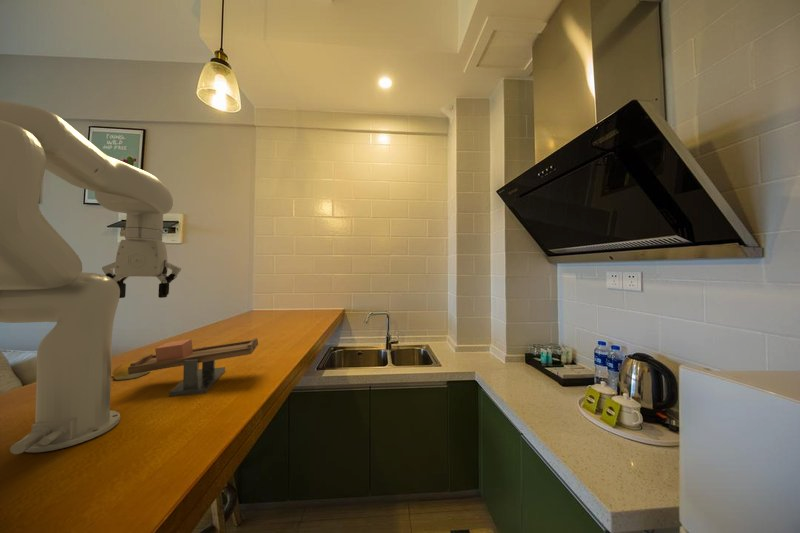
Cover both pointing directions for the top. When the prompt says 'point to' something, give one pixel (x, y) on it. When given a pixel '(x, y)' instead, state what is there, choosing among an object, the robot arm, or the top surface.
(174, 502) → the top surface
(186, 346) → the weight block
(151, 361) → the balance beam
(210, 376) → the balance stand
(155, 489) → the top surface
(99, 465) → the top surface
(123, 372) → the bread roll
